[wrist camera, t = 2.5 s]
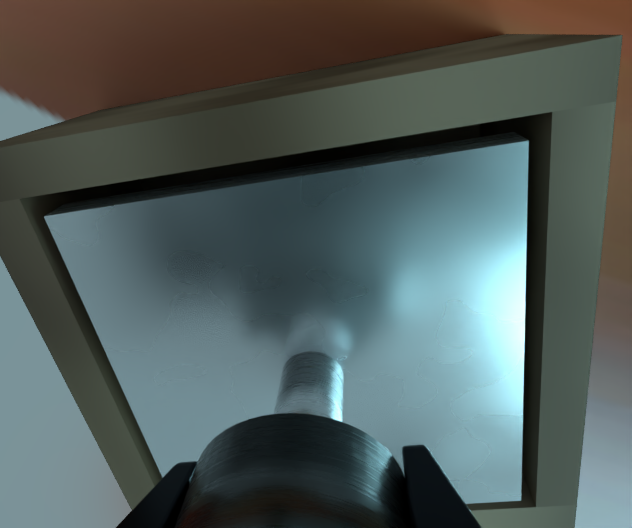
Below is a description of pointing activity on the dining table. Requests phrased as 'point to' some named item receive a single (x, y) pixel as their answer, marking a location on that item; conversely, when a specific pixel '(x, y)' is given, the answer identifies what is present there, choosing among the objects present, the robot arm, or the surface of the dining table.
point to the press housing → (334, 144)
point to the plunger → (318, 329)
